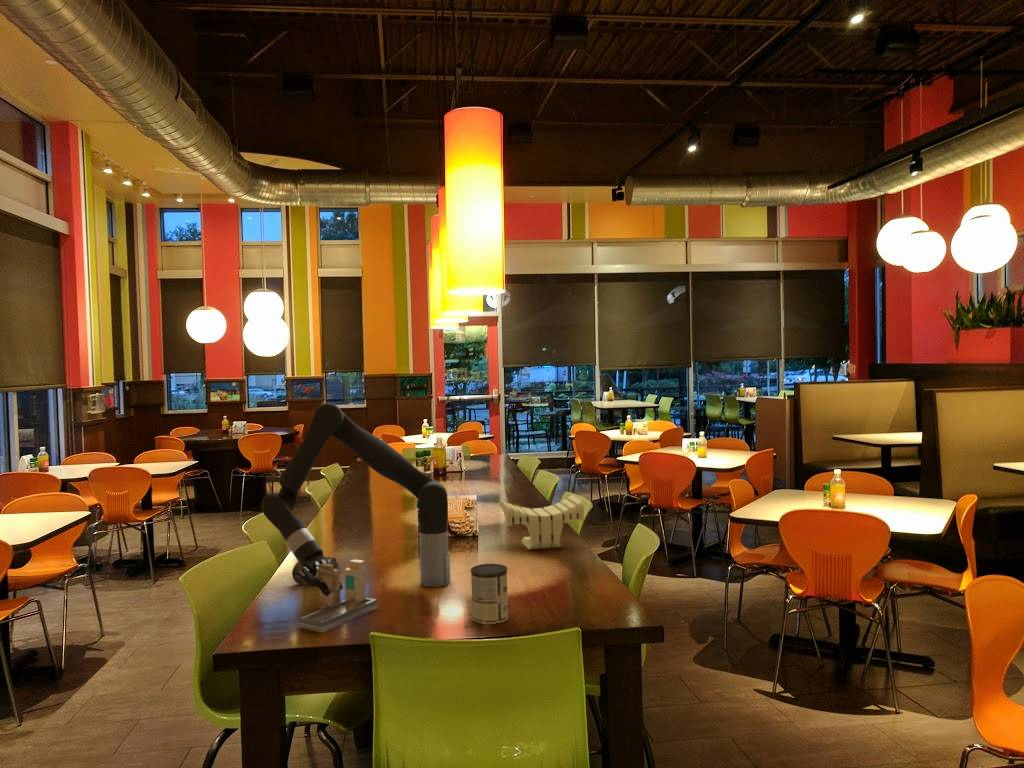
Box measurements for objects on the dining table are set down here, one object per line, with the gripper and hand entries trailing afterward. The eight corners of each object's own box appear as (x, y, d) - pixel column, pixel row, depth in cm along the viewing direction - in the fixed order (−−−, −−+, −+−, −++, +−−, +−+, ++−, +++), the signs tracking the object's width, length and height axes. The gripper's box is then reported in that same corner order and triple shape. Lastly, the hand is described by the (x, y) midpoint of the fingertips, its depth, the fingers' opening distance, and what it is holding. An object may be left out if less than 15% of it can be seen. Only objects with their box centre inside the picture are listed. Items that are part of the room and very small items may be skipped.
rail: (355, 604, 220) (354, 556, 219) (377, 608, 215) (375, 559, 215) (300, 627, 201) (298, 575, 201) (322, 633, 197) (320, 579, 196)
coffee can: (472, 612, 210) (471, 564, 210) (507, 611, 211) (506, 562, 210) (471, 625, 200) (470, 574, 200) (509, 624, 200) (507, 573, 200)
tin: (292, 586, 239) (291, 561, 239) (292, 584, 242) (292, 558, 242) (339, 582, 243) (338, 557, 243) (339, 579, 246) (338, 554, 246)
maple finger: (330, 603, 221) (329, 561, 220) (340, 606, 218) (339, 563, 218) (319, 608, 217) (318, 564, 217) (330, 610, 215) (328, 566, 214)
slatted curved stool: (508, 553, 276) (507, 506, 275) (500, 543, 291) (499, 498, 291) (584, 547, 281) (583, 501, 281) (572, 538, 297) (572, 494, 297)
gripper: (292, 544, 215) (323, 591, 209) (327, 534, 227) (357, 578, 221) (280, 560, 218) (310, 606, 212) (315, 549, 230) (345, 592, 224)
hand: (334, 591), depth 217 cm, fingers closed on maple finger, 4 cm apart
